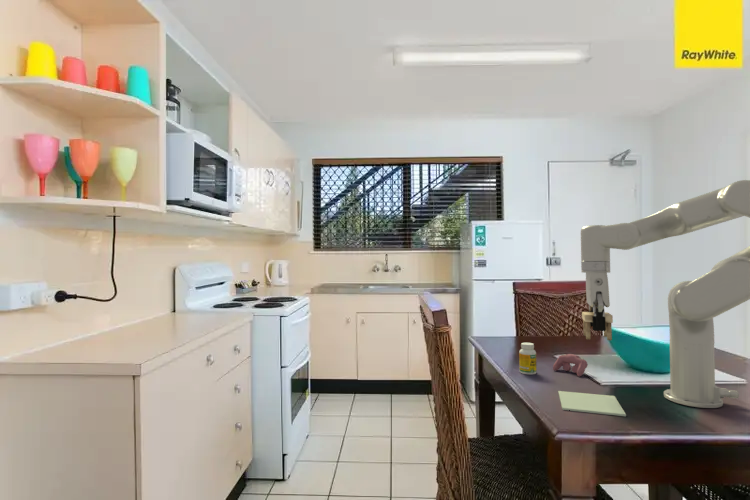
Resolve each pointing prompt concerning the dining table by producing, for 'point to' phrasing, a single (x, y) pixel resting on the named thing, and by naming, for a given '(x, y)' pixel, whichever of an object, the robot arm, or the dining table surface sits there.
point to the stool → (588, 318)
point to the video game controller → (573, 359)
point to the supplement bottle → (527, 359)
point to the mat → (590, 403)
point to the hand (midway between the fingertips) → (597, 327)
